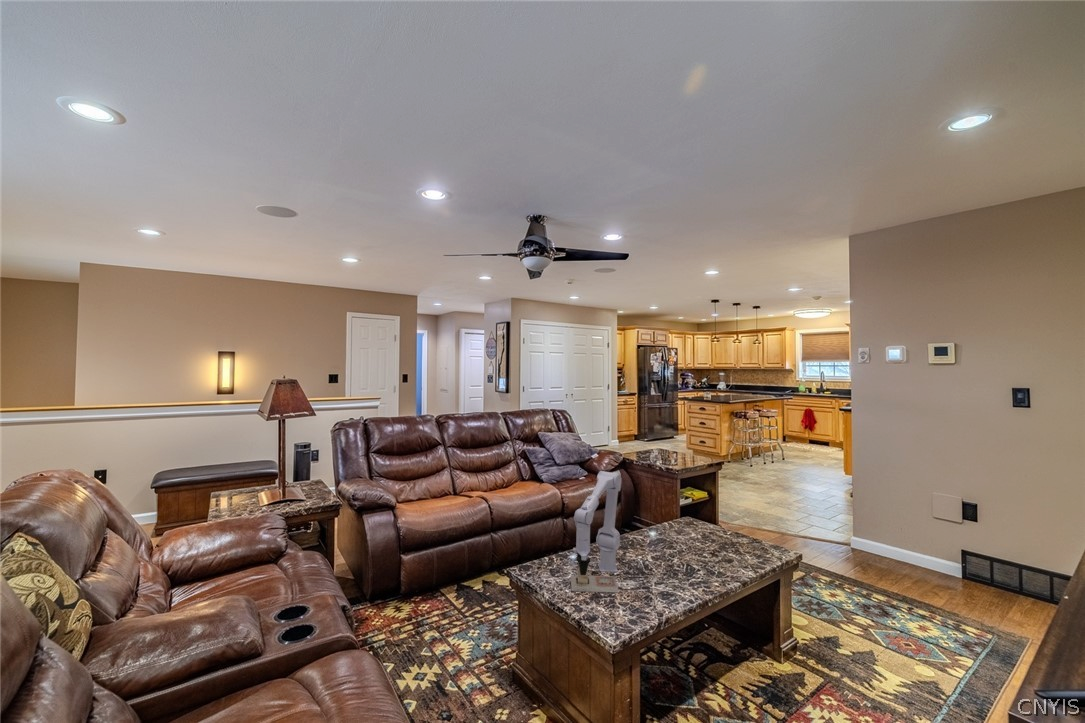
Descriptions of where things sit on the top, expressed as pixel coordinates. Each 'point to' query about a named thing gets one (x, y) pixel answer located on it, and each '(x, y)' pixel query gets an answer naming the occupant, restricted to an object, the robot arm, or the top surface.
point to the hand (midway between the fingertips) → (582, 570)
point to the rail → (595, 584)
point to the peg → (582, 577)
